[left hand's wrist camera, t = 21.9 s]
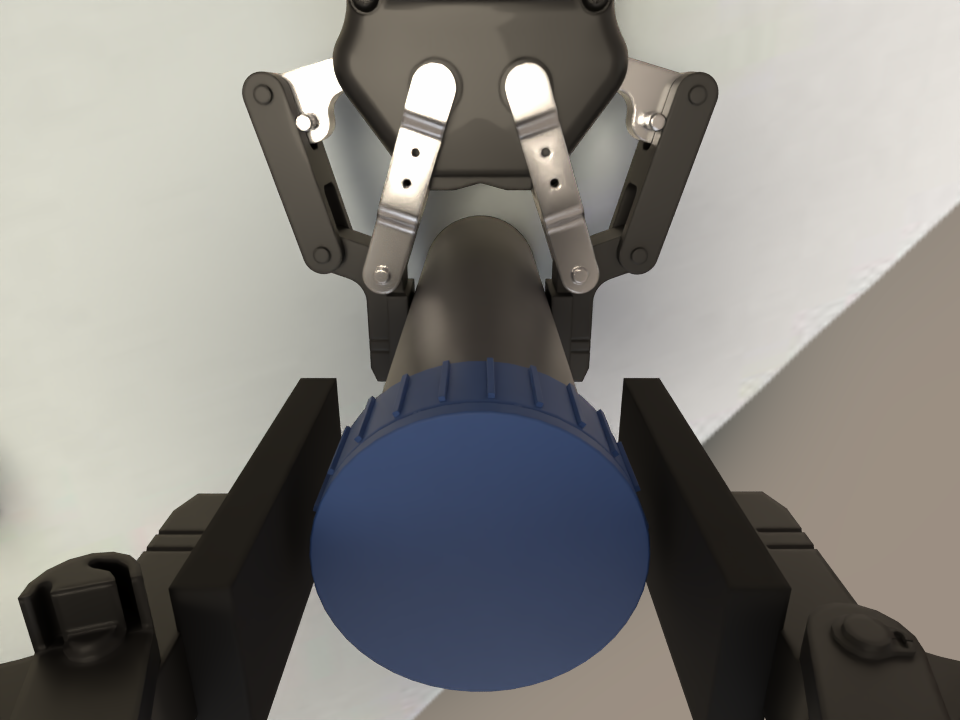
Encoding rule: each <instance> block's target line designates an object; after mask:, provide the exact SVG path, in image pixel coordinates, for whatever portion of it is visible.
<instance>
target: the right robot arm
mask: <svg viewBox="0 0 960 720" xmlns="http://www.w3.org/2000/svg"><path fill="white" fill-rule="evenodd" d="M617 92H618V93H619V94H620V95H622V97H623V98H624V100H625V102H626V105H627V115H626V128H627V130H628V132H629V134H630V135H631V136H632V137H634V138H635V139H638V140H639V142H638V145H637V148H636V151H635V154H634V157H633V159H632V162H631V165H630V168H629V171H628V174H627V177H626V180H625V183H624V186H623V189H622V192H621V195H620V198H619V200H618V203H617V206H616V209H615V212H614V215H613V218H612V221H611V224H610V227H609V229H608V230H606V231H603V232H600V233H597V234H594V235H592V236H589V233H588V229H587V225H586V222H585V217H584V209H583V205H582V201H581V198H580V194H579V191H578V187H577V183H576V180H575V176H574V172H573V169H572V165H571V162H570V158H569V156H570V155H571V153H572V152H573V151H574V149H575V148H576V146H577V145H578V144H579V142H580V141H581V140H582V138H583V137H584V136H585V134H586V133H587V132H588V130H589V129H590V128H591V126H592V125H593V124H594V122H595V121H596V119H597V118H598V117H599V115H600V114H601V113H602V111H603V110H604V109H605V107H606V106H607V105H608V103H609V102H610V101H611V99H612V98H613V97H614V95H615V94H616V93H617ZM342 93H345V94H346V96H347V97H348V98H349V100H350V101H351V102H352V104H353V105H354V106H355V108H356V109H357V110H358V112H359V113H360V114H361V116H362V117H363V118H364V120H365V121H366V122H367V124H368V125H369V126H370V128H371V129H372V131H373V132H374V133H375V135H376V136H377V137H378V139H379V140H380V141H381V143H382V144H383V145H384V147H385V148H386V149H387V151H388V152H389V153H390V155H391V156H392V159H391V163H390V167H389V170H388V174H387V178H386V181H385V185H384V188H383V192H382V196H381V199H380V203H379V207H378V212H377V220H376V224H375V227H374V231H373V235H372V237H371V236H369V235H366V234H363V233H360V232H357V231H354V230H353V229H352V226H351V223H350V220H349V218H348V215H347V212H346V209H345V206H344V203H343V200H342V197H341V194H340V191H339V189H338V186H337V183H336V180H335V177H334V174H333V171H332V168H331V165H330V162H329V160H328V157H327V154H326V151H325V148H324V145H323V142H322V140H325V139H327V138H328V137H329V136H331V134H332V133H333V131H334V128H335V116H334V106H335V102H336V100H337V99H338V97H339V96H340V95H341V94H342ZM242 95H243V99H244V102H245V105H246V108H247V110H248V113H249V116H250V118H251V121H252V124H253V126H254V129H255V131H256V134H257V137H258V139H259V142H260V145H261V147H262V150H263V153H264V155H265V158H266V161H267V163H268V166H269V169H270V171H271V174H272V177H273V179H274V182H275V184H276V187H277V190H278V192H279V195H280V198H281V200H282V203H283V206H284V208H285V211H286V214H287V216H288V219H289V222H290V224H291V227H292V229H293V232H294V235H295V237H296V240H297V243H298V245H299V248H300V251H301V253H302V256H303V259H304V261H305V263H306V265H307V266H308V267H309V268H310V269H311V270H313V271H314V272H316V273H320V274H328V273H334V274H337V275H340V276H343V277H346V278H349V279H351V280H353V281H355V282H356V283H357V284H359V285H360V286H361V288H362V289H363V291H364V293H365V295H366V299H367V312H368V327H369V339H370V341H369V343H370V358H371V369H372V371H373V373H374V375H375V377H376V379H377V381H386V380H387V377H388V374H389V371H390V368H391V365H392V362H393V358H394V355H395V352H396V349H397V346H398V343H399V340H400V337H401V334H402V331H403V328H404V325H405V322H406V319H407V316H408V313H409V309H410V306H411V303H412V300H413V297H414V294H415V284H414V279H408V271H407V264H408V261H409V258H410V255H411V251H412V248H413V245H414V241H415V238H416V235H417V231H418V228H419V224H420V221H421V218H422V215H423V212H424V209H425V206H426V202H427V199H428V196H429V192H430V190H457V189H460V188H464V187H468V186H471V185H475V184H479V183H483V184H487V185H490V186H494V187H498V188H501V189H505V190H531V192H532V195H533V198H534V201H535V205H536V208H537V211H538V214H539V217H540V220H541V223H542V227H543V230H544V233H545V236H546V240H547V243H548V246H549V250H550V253H551V256H552V260H553V265H552V279H545V294H546V298H547V301H548V304H549V307H550V310H551V313H552V316H553V319H554V322H555V325H556V328H557V331H558V334H559V337H560V341H561V344H562V347H563V350H564V353H565V356H566V359H567V362H568V365H569V368H570V371H571V374H572V377H573V380H574V382H582V381H583V379H584V377H585V375H586V373H587V371H588V369H589V359H590V342H591V341H590V339H591V326H592V310H593V298H594V295H595V292H596V290H597V289H598V287H599V286H600V285H601V284H602V283H604V282H605V281H607V280H609V279H611V278H614V277H617V276H620V275H623V274H626V273H631V274H643V273H646V272H648V271H649V270H651V269H652V268H653V267H654V265H655V264H656V262H657V259H658V257H659V254H660V251H661V249H662V246H663V243H664V241H665V238H666V235H667V233H668V230H669V227H670V225H671V222H672V219H673V217H674V214H675V211H676V209H677V206H678V203H679V201H680V198H681V195H682V193H683V190H684V187H685V185H686V182H687V179H688V177H689V174H690V171H691V169H692V166H693V163H694V161H695V158H696V155H697V153H698V150H699V147H700V145H701V142H702V139H703V137H704V134H705V131H706V129H707V126H708V123H709V121H710V118H711V115H712V113H713V110H714V107H715V105H716V102H717V99H718V86H717V83H716V81H715V80H714V78H713V77H712V76H710V75H709V74H707V73H704V72H683V73H678V72H675V71H672V70H668V69H665V68H662V67H658V66H655V65H652V64H649V63H645V62H642V61H639V60H635V59H632V58H629V57H628V50H627V46H626V43H625V41H624V39H623V37H622V34H621V32H620V30H619V27H618V24H617V20H616V15H615V9H614V0H347V7H346V15H345V20H344V24H343V27H342V30H341V33H340V35H339V37H338V39H337V41H336V44H335V47H334V51H333V58H331V59H327V60H324V61H321V62H318V63H315V64H311V65H308V66H305V67H302V68H298V69H295V70H292V71H289V72H285V73H282V74H280V73H270V72H256V73H253V74H251V75H250V76H249V77H248V78H247V79H246V80H245V82H244V85H243V89H242Z"/></svg>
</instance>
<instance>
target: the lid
mask: <svg viewBox="0 0 960 720" xmlns="http://www.w3.org/2000/svg"><path fill="white" fill-rule="evenodd" d="M640 490H641V489H640V487H639V484H638V482H637V479H636V477H635V475H634V472H633V470H632V467H631V465H630V462H629V460H628V457H627V455H626V452H625V450H624V447H623V445H622V442H621V441H620V442H618V443H616V440H615V438H614V436H613V434H612V433H611V430H610V428H609V425H608V423H607V420H606V418H605V415H604V413H603V411H602V410H601V409H600V410H598V411H596V410H595V409H594V408H593V407H592V406H591V405H590V404H589V403H588V402H587V401H586V400H585V399H584V398H583V397H582V396H581V395H579V394H578V393H576V390H575V387H574V385H572V384H571V383H569V384H568V385H565V384H563V383H561V382H560V381H558V380H556V379H554V378H552V377H550V376H548V375H546V374H543V373H540V372H538V371H537V368H536V366H533V365H530V368H526V367H522V366H518V365H515V364H510V363H501V362H494V361H493V358H487V361H466V362H459V363H451V364H450V362H449V360H447V361H443V365H442V366H438V367H434V368H430V369H427V370H424V371H422V372H419V373H417V374H414V375H412V376H409V375H408V374H405V375H403V376H402V378H401V381H400V382H398V383H397V384H395V385H393V386H392V387H390V388H389V389H387V390H386V391H385V392H383V393H382V394H381V395H379V396H378V397H377V398H376V399H375V398H374V397H373V396H372V397H371V398H370V399H369V400H368V402H367V405H366V408H365V410H364V411H363V412H362V413H361V415H360V416H359V417H358V418H357V420H356V421H355V422H354V424H353V425H352V427H351V428H350V427H348V426H346V428H345V430H344V432H343V435H342V437H341V440H340V442H339V444H338V447H337V449H336V452H335V454H334V457H333V459H332V462H331V464H330V467H329V469H328V472H327V475H326V477H325V480H324V482H323V485H322V487H321V490H320V492H319V495H318V497H317V500H316V502H315V505H314V508H313V511H315V512H316V514H315V517H314V520H313V525H312V530H311V535H310V553H309V556H310V564H311V573H312V577H313V580H314V584H315V587H316V591H317V594H318V596H319V598H320V600H321V602H322V605H323V607H324V609H325V611H326V612H327V614H328V615H329V617H330V618H331V620H332V622H333V623H334V625H335V626H336V627H337V628H338V629H339V631H340V632H341V633H342V634H343V635H344V636H345V638H346V639H347V640H348V641H349V642H351V643H352V644H353V645H354V646H355V647H356V648H357V649H358V650H359V651H360V652H362V653H363V654H365V655H366V656H367V657H369V658H370V659H372V660H373V661H374V662H376V663H377V664H379V665H381V666H383V667H385V668H386V669H388V670H390V671H392V672H394V673H396V674H398V675H401V676H403V677H406V678H408V679H410V680H413V681H416V682H420V683H423V684H426V685H430V686H434V687H439V688H444V689H450V690H459V691H470V692H483V691H484V692H485V691H486V692H487V691H501V690H510V689H516V688H520V687H525V686H530V685H534V684H537V683H540V682H543V681H546V680H549V679H552V678H554V677H556V676H559V675H561V674H564V673H566V672H568V671H570V670H572V669H573V668H575V667H577V666H579V665H580V664H582V663H584V662H586V661H587V660H588V659H590V658H591V657H592V656H594V655H595V654H596V653H598V652H599V651H601V650H602V649H603V648H604V647H605V646H606V645H607V644H608V643H609V642H610V641H611V640H612V639H613V638H614V637H615V636H616V635H617V634H618V633H619V631H620V630H621V629H622V628H623V626H624V625H625V624H626V623H627V621H628V620H629V618H630V616H631V615H632V613H633V611H634V610H635V608H636V606H637V604H638V602H639V599H640V597H641V595H642V592H643V590H644V586H645V582H646V579H647V575H648V571H649V561H650V539H649V531H648V529H649V524H648V521H647V519H646V516H645V514H644V511H643V508H642V506H641V503H640V501H639V498H638V496H637V493H636V492H638V491H640Z"/></svg>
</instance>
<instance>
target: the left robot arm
mask: <svg viewBox="0 0 960 720" xmlns="http://www.w3.org/2000/svg"><path fill="white" fill-rule="evenodd" d="M340 440H341V428H340V416H339V404H338V392H337V381H336V378H301V379H300V380H299V382H298V383H297V385H296V386H295V388H294V390H293V391H292V393H291V394H290V396H289V398H288V399H287V401H286V402H285V404H284V406H283V407H282V409H281V410H280V412H279V413H278V415H277V417H276V418H275V420H274V421H273V423H272V425H271V426H270V428H269V429H268V431H267V433H266V434H265V436H264V437H263V439H262V440H261V442H260V444H259V445H258V447H257V448H256V450H255V452H254V453H253V455H252V456H251V458H250V459H249V461H248V463H247V464H246V466H245V467H244V469H243V471H242V472H241V474H240V475H239V477H238V479H237V480H236V482H235V483H234V485H233V486H232V488H231V490H230V491H229V493H228V494H197V495H195V496H194V497H193V498H191V499H190V500H188V501H187V502H185V503H184V504H183V505H181V506H180V507H178V508H177V509H175V510H174V511H173V512H172V514H171V515H170V516H169V518H168V519H167V520H166V522H165V523H164V524H163V526H162V527H161V529H160V530H159V534H158V535H155V537H154V538H153V539H152V541H151V542H150V544H149V545H148V546H147V551H144V552H143V553H142V554H141V556H140V557H139V558H138V560H137V561H136V560H135V559H134V558H133V557H131V556H130V555H126V554H121V553H116V552H104V553H92V554H88V555H84V556H81V557H77V558H73V559H70V560H67V561H65V562H63V563H61V564H59V565H57V566H55V567H52V568H50V569H48V570H46V571H45V572H44V573H42V574H41V575H40V576H38V577H37V578H36V579H34V580H33V581H32V582H30V583H29V584H28V585H27V587H26V588H25V589H24V591H23V592H22V593H21V595H20V596H19V597H18V601H19V604H20V607H21V610H22V613H23V617H24V620H25V623H26V626H27V629H28V632H29V636H30V639H31V642H32V645H33V648H34V652H35V654H34V655H33V656H30V657H27V658H23V659H20V660H16V661H11V662H7V663H3V664H0V720H267V718H268V715H269V712H270V709H271V706H272V703H273V700H274V697H275V694H276V692H277V689H278V686H279V683H280V680H281V677H282V674H283V671H284V668H285V665H286V662H287V659H288V656H289V653H290V650H291V647H292V645H293V642H294V639H295V636H296V633H297V630H298V627H299V624H300V621H301V618H302V615H303V612H304V609H305V606H306V603H307V600H308V598H309V595H310V592H311V589H312V586H313V583H314V580H313V577H312V573H311V564H310V556H309V553H310V535H311V530H312V525H313V520H314V517H315V514H316V512H315V511H313V508H314V505H315V502H316V500H317V497H318V495H319V492H320V490H321V487H322V485H323V482H324V480H325V477H326V475H327V472H328V469H329V467H330V464H331V462H332V459H333V457H334V454H335V452H336V449H337V447H338V444H339V442H340ZM620 441H621V442H622V445H623V447H624V450H625V452H626V455H627V457H628V460H629V462H630V465H631V467H632V470H633V472H634V475H635V477H636V479H637V482H638V484H639V487H640V489H641V490H640V491H638V492H636V493H637V496H638V498H639V501H640V503H641V506H642V508H643V511H644V514H645V516H646V519H647V521H648V524H649V529H648V531H649V539H650V561H649V571H648V575H647V579H646V583H647V586H648V589H649V592H650V595H651V598H652V600H653V603H654V606H655V609H656V612H657V615H658V618H659V621H660V624H661V627H662V630H663V633H664V636H665V639H666V642H667V645H668V647H669V650H670V653H671V656H672V659H673V662H674V665H675V668H676V671H677V674H678V677H679V680H680V683H681V686H682V689H683V692H684V694H685V697H686V700H687V703H688V706H689V709H690V712H691V715H692V718H693V720H764V718H765V719H766V720H960V661H957V660H952V659H948V658H944V657H940V656H936V655H933V654H930V653H926V652H925V651H924V649H923V648H922V646H921V645H920V643H919V642H918V640H917V638H916V637H915V636H914V635H913V634H912V633H911V632H909V631H908V630H907V629H906V628H905V627H903V626H902V625H901V624H900V623H899V622H897V621H895V620H894V619H892V618H890V617H888V616H886V615H884V614H882V613H880V612H878V611H876V610H873V609H870V608H867V607H863V606H860V605H858V604H857V603H856V601H855V600H854V599H853V597H852V596H851V595H850V593H849V592H848V591H847V589H846V588H845V587H844V585H843V584H842V583H841V581H840V580H839V578H838V577H837V576H836V574H835V573H834V572H833V570H832V569H831V568H830V566H829V565H828V564H827V562H826V561H825V560H824V558H823V557H822V556H821V554H820V553H819V551H818V550H817V549H814V545H813V543H812V542H811V541H810V539H809V538H808V537H807V535H806V534H805V533H804V532H802V530H801V527H800V526H799V524H798V523H797V522H796V520H795V519H794V518H793V516H792V515H791V514H790V512H789V511H788V510H787V508H785V507H784V506H782V505H781V504H779V503H778V502H777V501H775V500H774V499H772V498H771V497H769V496H768V495H766V494H765V493H764V492H731V491H730V490H729V488H728V486H727V485H726V483H725V482H724V480H723V479H722V477H721V475H720V474H719V472H718V471H717V469H716V467H715V466H714V464H713V463H712V461H711V460H710V458H709V456H708V455H707V453H706V452H705V450H704V448H703V447H702V445H701V444H700V442H699V440H698V439H697V437H696V436H695V434H694V433H693V431H692V429H691V428H690V426H689V425H688V423H687V421H686V420H685V418H684V417H683V415H682V413H681V412H680V410H679V409H678V407H677V406H676V404H675V402H674V401H673V399H672V398H671V396H670V394H669V393H668V391H667V390H666V388H665V386H664V385H663V383H662V382H661V380H660V379H659V378H624V381H623V392H622V404H621V416H620V428H619V439H618V442H620Z"/></svg>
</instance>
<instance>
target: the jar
mask: <svg viewBox="0 0 960 720" xmlns="http://www.w3.org/2000/svg"><path fill="white" fill-rule="evenodd" d="M487 358H493V361H494V362H501V363H510V364H515V365H518V366H522V367H526V368H530V365H533V366H536V368H537V371H538V372H540V373H543V374H546V375H548V376H550V377H552V378H554V379H556V380H558V381H560V382H561V383H563V384H565V385H568V384H569V383H571V384H572V385H574V387H575V384H574V380H573V377H572V374H571V371H570V368H569V365H568V362H567V359H566V356H565V353H564V350H563V347H562V344H561V341H560V337H559V334H558V331H557V328H556V325H555V322H554V319H553V316H552V313H551V310H550V307H549V304H548V301H547V298H546V294H545V291H544V288H543V285H542V282H541V279H540V276H539V273H538V270H537V267H536V264H535V261H534V258H533V254H532V252H531V249H530V247H529V245H528V243H527V241H526V240H525V238H524V237H523V236H522V235H521V234H520V233H519V231H518V230H516V229H515V228H514V227H513V226H511V225H510V224H508V223H506V222H505V221H502V220H500V219H497V218H493V217H488V216H472V217H467V218H463V219H460V220H458V221H455V222H454V223H452V224H450V225H449V226H447V227H446V228H445V229H443V230H442V231H441V232H440V233H439V235H438V236H437V237H436V238H435V240H434V241H433V243H432V245H431V247H430V249H429V252H428V254H427V257H426V260H425V264H424V267H423V270H422V273H421V276H420V279H419V282H418V285H417V288H416V291H415V294H414V297H413V300H412V303H411V306H410V309H409V313H408V316H407V319H406V322H405V325H404V328H403V331H402V334H401V337H400V340H399V343H398V346H397V349H396V352H395V355H394V358H393V362H392V365H391V368H390V371H389V374H388V377H387V380H386V383H385V386H384V389H383V392H385V391H386V390H387V389H389V388H390V387H392V386H393V385H395V384H397V383H398V382H400V381H401V378H402V376H403V375H405V374H408V375H409V376H412V375H414V374H417V373H419V372H422V371H424V370H427V369H430V368H434V367H438V366H442V365H443V361H447V360H449V362H450V364H451V363H459V362H466V361H487ZM575 390H576V387H575ZM383 392H382V393H383ZM576 393H577V390H576Z"/></svg>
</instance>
